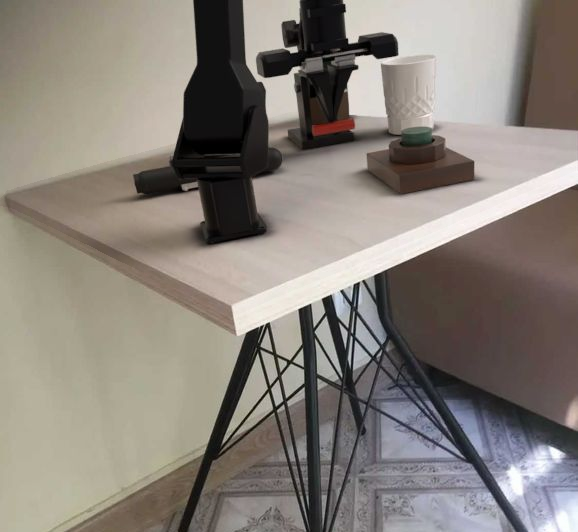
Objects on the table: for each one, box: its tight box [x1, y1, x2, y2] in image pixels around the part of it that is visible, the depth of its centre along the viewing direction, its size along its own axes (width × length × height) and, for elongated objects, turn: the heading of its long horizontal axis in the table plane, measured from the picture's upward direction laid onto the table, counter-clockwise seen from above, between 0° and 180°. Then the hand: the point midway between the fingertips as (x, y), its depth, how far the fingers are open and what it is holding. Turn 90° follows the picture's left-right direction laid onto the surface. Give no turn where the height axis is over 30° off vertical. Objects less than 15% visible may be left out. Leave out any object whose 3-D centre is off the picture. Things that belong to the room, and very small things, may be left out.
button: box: [400, 127, 433, 146], centre depth 82 cm, size 4×4×2 cm
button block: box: [365, 134, 475, 195], centre depth 84 cm, size 12×9×4 cm
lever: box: [307, 78, 356, 136], centre depth 102 cm, size 12×6×2 cm, turn 13°
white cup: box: [380, 54, 437, 136], centre depth 103 cm, size 8×8×10 cm
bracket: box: [287, 68, 355, 151], centre depth 106 cm, size 10×8×10 cm
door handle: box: [132, 146, 284, 195], centre depth 97 cm, size 3×20×16 cm
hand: (332, 119), depth 99 cm, fingers closed
